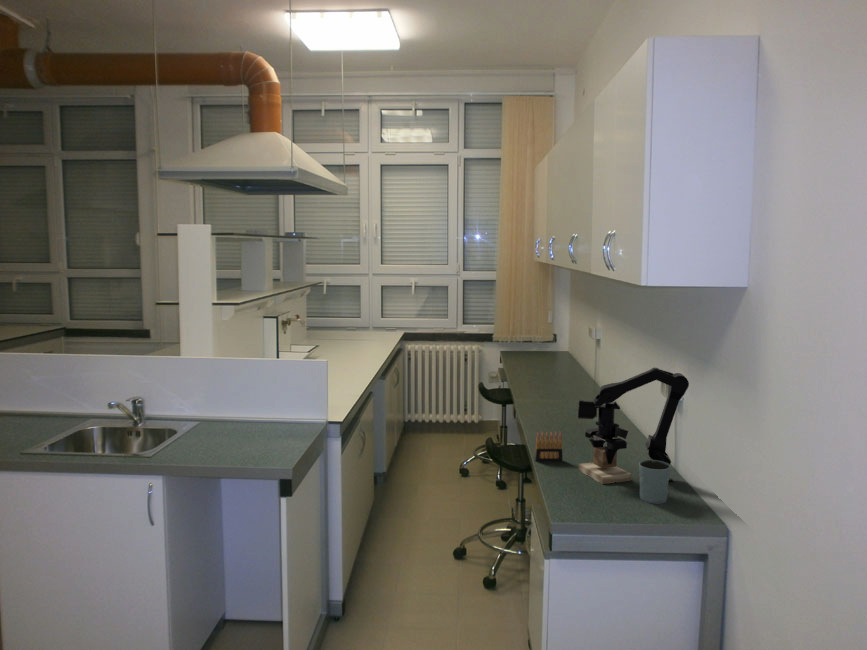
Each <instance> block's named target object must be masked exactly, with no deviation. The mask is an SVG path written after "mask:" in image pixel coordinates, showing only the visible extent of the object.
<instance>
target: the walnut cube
mask: <svg viewBox="0 0 867 650" xmlns="http://www.w3.org/2000/svg"><path fill="white" fill-rule="evenodd" d="M604 447H605V446H603V447H595V448H593V453H592V454H593V456H592V462H593V464H595V465H597V466H599V467H601V468H609V467H616V466H617V461H618V460H617V459H618V451H617V452H616V454H615V456H614V458H613V461H612V463H611V464H608V461H607V457H606V453H605V448H604Z"/></svg>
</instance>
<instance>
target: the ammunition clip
mask: <svg viewBox="0 0 867 650" xmlns="http://www.w3.org/2000/svg"><path fill="white" fill-rule="evenodd" d="M535 438H536V440H535V454H534V461H535V462H541V463H542V462H544V463H546V462H549V463H550V462H563V434H562V431H561V430H559V434H558V432H557V431H554V435H553V431H550V433H549V432H548V431H546V432H545V434H544V430H541V434H540V430H539V431H538V430H537V433H536V437H535Z"/></svg>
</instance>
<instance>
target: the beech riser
mask: <svg viewBox="0 0 867 650" xmlns="http://www.w3.org/2000/svg"><path fill="white" fill-rule="evenodd" d="M578 471H579V472H581V473H583V474H584V475H586V476H587V475H588V477H589V478H591V479H592V480H595V481H596V482H598V483H599V482H600V483H599V484H602V485H606V484H615V482H616V483H623V482H630V481H632V473H631V472H628V471H627V470H624V469H623V468H621V467H619V466H617V465H616V467H609V468H601V467H599V466H597V465H595V464H593V461H592V462H583V463H578Z"/></svg>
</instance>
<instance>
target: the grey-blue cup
mask: <svg viewBox="0 0 867 650" xmlns="http://www.w3.org/2000/svg"><path fill="white" fill-rule="evenodd" d="M671 468H672V467H671V463H670V464H668V463H666V462H663V461H658V460H652V459H643V460H640V461H639V462H638V471H639V475H638V476H639V498H640V500H641V501H643V502H645V503H649V504H655V505H656V504H658V505H659V504H665V503H667V501H668V500H667V499H668V489H669V482H670V481H669V478H671V477H670V476H671Z"/></svg>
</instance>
